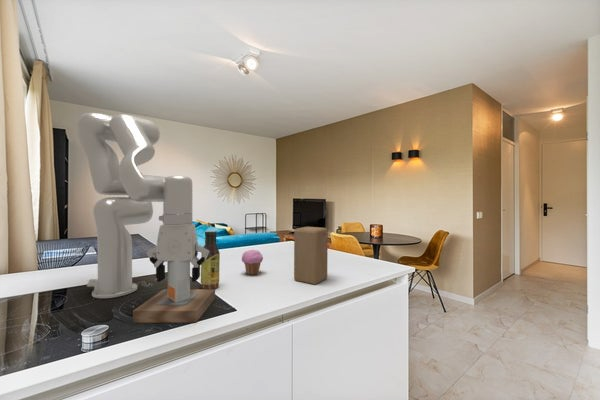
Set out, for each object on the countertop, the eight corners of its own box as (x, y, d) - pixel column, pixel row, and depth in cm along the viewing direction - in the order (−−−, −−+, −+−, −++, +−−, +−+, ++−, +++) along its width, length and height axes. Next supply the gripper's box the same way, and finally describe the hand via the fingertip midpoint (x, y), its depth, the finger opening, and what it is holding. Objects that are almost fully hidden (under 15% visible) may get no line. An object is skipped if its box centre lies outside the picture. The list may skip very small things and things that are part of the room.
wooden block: (328, 278, 107) (328, 227, 107) (315, 285, 99) (316, 230, 99) (306, 274, 113) (306, 226, 112) (293, 280, 104) (293, 228, 104)
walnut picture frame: (132, 322, 69) (132, 309, 69) (163, 298, 85) (163, 288, 85) (196, 322, 70) (196, 310, 70) (215, 298, 86) (215, 288, 86)
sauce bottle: (213, 291, 93) (213, 232, 92) (197, 289, 94) (196, 232, 94) (222, 284, 99) (222, 230, 99) (207, 283, 100) (207, 229, 100)
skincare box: (166, 297, 78) (166, 255, 78) (181, 293, 81) (181, 253, 81) (175, 303, 74) (175, 259, 74) (190, 299, 77) (190, 256, 77)
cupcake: (264, 275, 111) (264, 251, 110) (242, 277, 108) (242, 252, 108) (261, 270, 119) (261, 247, 119) (240, 271, 117) (240, 248, 117)
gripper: (139, 221, 73) (139, 284, 74) (204, 221, 74) (204, 284, 74) (154, 218, 81) (154, 276, 81) (212, 219, 81) (212, 276, 81)
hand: (178, 280), depth 77 cm, fingers open, 9 cm apart
